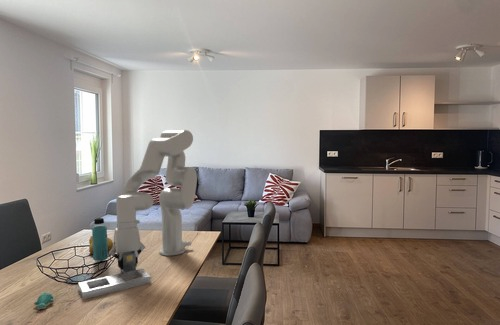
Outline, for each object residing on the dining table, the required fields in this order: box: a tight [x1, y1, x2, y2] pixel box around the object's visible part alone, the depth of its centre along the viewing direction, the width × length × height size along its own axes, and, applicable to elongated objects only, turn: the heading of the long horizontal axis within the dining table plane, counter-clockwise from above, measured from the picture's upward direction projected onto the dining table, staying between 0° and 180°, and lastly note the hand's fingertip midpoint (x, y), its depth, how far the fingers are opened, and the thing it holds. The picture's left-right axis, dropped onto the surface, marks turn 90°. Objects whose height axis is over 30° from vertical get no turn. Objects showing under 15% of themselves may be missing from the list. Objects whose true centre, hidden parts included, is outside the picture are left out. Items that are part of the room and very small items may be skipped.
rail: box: [77, 268, 152, 300], centre depth 130 cm, size 24×10×2 cm, turn 125°
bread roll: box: [88, 235, 114, 255], centre depth 170 cm, size 13×10×8 cm
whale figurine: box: [33, 292, 55, 310], centre depth 115 cm, size 6×7×4 cm
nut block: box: [120, 251, 137, 273], centre depth 145 cm, size 5×5×8 cm
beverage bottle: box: [91, 217, 109, 262], centre depth 156 cm, size 6×7×20 cm
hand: (128, 266), depth 145 cm, fingers closed on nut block, 5 cm apart
